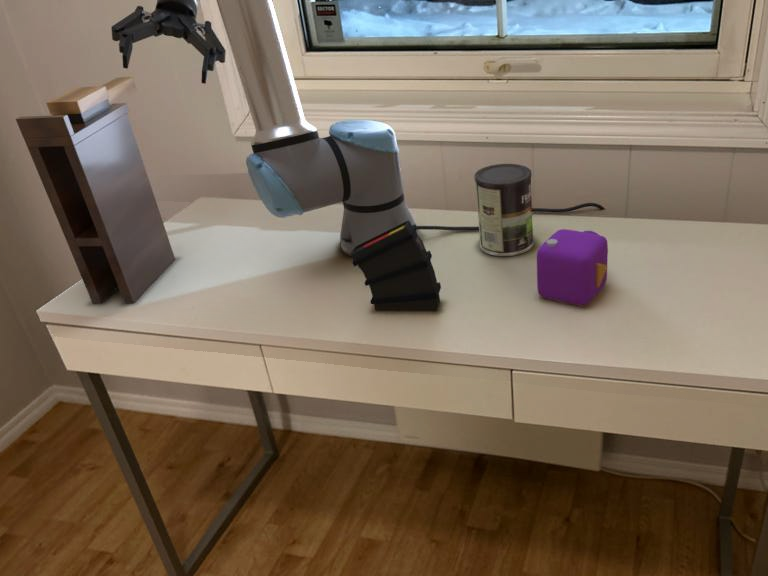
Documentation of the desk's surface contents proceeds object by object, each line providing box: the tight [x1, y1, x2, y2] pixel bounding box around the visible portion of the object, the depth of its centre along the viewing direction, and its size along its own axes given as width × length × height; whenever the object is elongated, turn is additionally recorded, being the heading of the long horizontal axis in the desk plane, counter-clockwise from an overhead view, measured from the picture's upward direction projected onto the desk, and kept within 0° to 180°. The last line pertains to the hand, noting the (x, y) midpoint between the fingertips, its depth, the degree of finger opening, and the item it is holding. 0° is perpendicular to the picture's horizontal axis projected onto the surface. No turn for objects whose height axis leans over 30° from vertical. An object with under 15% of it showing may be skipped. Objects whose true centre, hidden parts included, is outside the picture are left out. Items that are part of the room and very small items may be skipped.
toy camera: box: [536, 228, 609, 306], centre depth 124 cm, size 11×14×10 cm
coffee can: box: [473, 163, 535, 257], centre depth 139 cm, size 10×10×14 cm
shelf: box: [15, 102, 176, 304], centre depth 132 cm, size 8×18×33 cm, turn 174°
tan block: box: [45, 76, 138, 124], centre depth 130 cm, size 5×20×4 cm, turn 174°
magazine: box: [349, 220, 442, 312], centre depth 123 cm, size 4×13×15 cm, turn 83°
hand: (164, 70), depth 140 cm, fingers open, 13 cm apart
